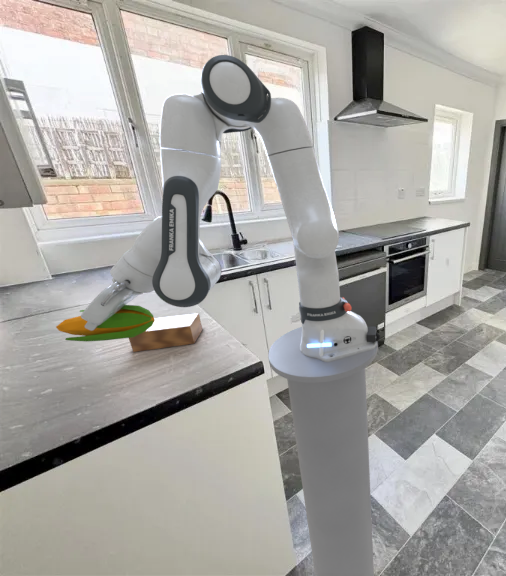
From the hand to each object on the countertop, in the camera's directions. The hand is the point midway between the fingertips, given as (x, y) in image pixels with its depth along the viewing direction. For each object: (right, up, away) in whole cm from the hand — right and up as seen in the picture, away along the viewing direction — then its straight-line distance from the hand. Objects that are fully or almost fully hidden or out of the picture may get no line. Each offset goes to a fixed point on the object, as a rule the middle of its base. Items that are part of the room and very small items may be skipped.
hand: (99, 320), depth 70 cm
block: (-2, -9, +26) cm, 28 cm away
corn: (+1, -4, +2) cm, 5 cm away
